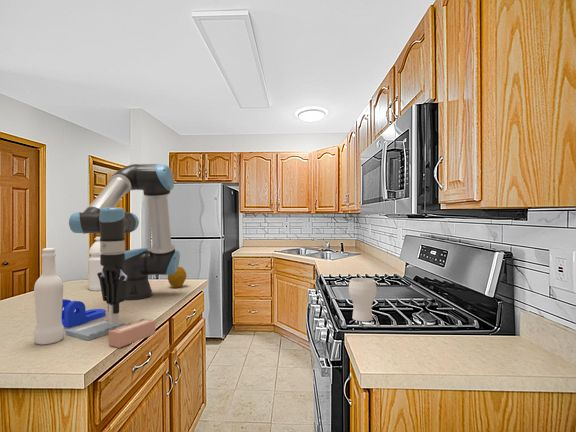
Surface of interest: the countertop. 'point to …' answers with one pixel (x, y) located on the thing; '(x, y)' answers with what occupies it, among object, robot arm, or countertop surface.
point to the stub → (131, 332)
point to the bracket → (78, 313)
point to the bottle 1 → (48, 302)
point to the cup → (362, 297)
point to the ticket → (93, 329)
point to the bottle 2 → (94, 266)
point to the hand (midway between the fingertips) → (113, 322)
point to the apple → (177, 278)
